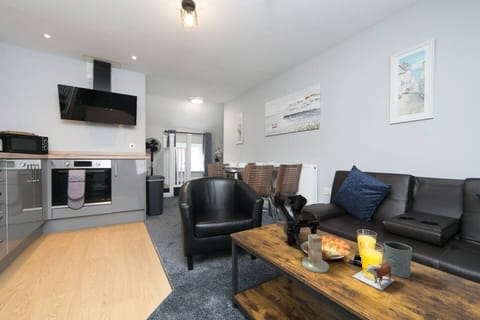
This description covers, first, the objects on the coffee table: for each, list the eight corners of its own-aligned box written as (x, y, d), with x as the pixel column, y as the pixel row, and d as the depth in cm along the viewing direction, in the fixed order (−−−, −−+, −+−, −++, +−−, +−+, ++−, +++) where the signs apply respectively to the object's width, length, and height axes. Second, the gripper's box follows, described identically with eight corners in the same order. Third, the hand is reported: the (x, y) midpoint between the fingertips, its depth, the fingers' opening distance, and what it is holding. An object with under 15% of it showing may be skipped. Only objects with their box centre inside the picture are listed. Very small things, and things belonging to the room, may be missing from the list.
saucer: (297, 261, 98) (297, 258, 98) (317, 258, 101) (317, 255, 101) (311, 274, 86) (311, 271, 86) (334, 270, 89) (334, 268, 89)
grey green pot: (388, 276, 85) (388, 248, 85) (380, 264, 94) (380, 239, 95) (417, 280, 81) (417, 252, 82) (406, 268, 91) (406, 242, 91)
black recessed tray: (343, 263, 96) (343, 254, 96) (347, 258, 102) (347, 249, 102) (373, 273, 88) (373, 263, 88) (375, 267, 93) (375, 257, 93)
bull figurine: (363, 283, 80) (363, 263, 80) (384, 275, 85) (384, 257, 85) (374, 290, 76) (374, 269, 76) (395, 281, 81) (395, 261, 81)
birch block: (308, 261, 95) (308, 234, 95) (316, 260, 96) (316, 234, 96) (313, 266, 91) (313, 238, 91) (321, 265, 92) (321, 237, 92)
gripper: (286, 207, 103) (296, 236, 92) (318, 206, 106) (331, 233, 96) (281, 218, 111) (289, 245, 100) (310, 216, 114) (322, 242, 103)
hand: (308, 241), depth 100 cm, fingers open, 9 cm apart
